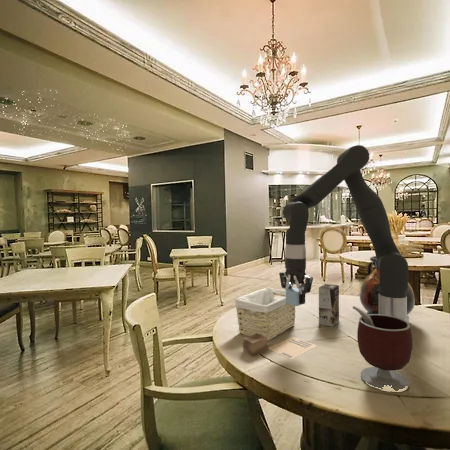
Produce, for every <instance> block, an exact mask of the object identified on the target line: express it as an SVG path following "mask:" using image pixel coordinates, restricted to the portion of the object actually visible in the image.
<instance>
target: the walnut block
mask: <svg viewBox="0 0 450 450" xmlns="http://www.w3.org/2000/svg"><path fill="white" fill-rule="evenodd" d="M267 348H268V341H267V337H265V336H262V335H260V334H258V333H256V334H254V335H251V336H246V337H243V338H242V351H243V353H244V354H247V355H248V356H250V357H252V358H255V357H257V356H258V355H261V354H263V353H266V352H267V351H268V349H267Z"/></svg>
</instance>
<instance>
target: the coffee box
mask: <svg viewBox="0 0 450 450" xmlns="http://www.w3.org/2000/svg"><path fill="white" fill-rule="evenodd" d="M339 322H340V286H339V285H338V284H331V283H330V284H328V283H324V284H323V285H321V286H319V287H318V324H319V325H323V326H328V327H334V326H335V325H336V324H337V323H339Z"/></svg>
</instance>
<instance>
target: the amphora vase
mask: <svg viewBox="0 0 450 450" xmlns="http://www.w3.org/2000/svg"><path fill="white" fill-rule="evenodd" d="M369 260H370V262H368V265H367V277H366V278H364V280H363V282H362V283H361V286H360V289H359V300H360V303H361V305H362V306H363V308H364V310H365V311H366V313H367V314H379V267H378V262H377V258H376V255H375V256H371V257H369ZM373 266H374V269H372V268H373ZM415 301H416V299H415V293H414V290H413V287H412V286H411V284H410V282H409V281H408V290H407V316H409V314H411V312H412V311H413V310H414V308H415V303H416V302H415Z"/></svg>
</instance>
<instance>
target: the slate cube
mask: <svg viewBox="0 0 450 450" xmlns="http://www.w3.org/2000/svg"><path fill="white" fill-rule="evenodd" d="M285 291H286V303H288V304H291V305H294V306H295V307H299V306H302V305H305V304H306V301H305V302H304V304H299V294H300V293H299V290H298V288H297V287H292V288H290V289H286V290H285Z"/></svg>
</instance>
